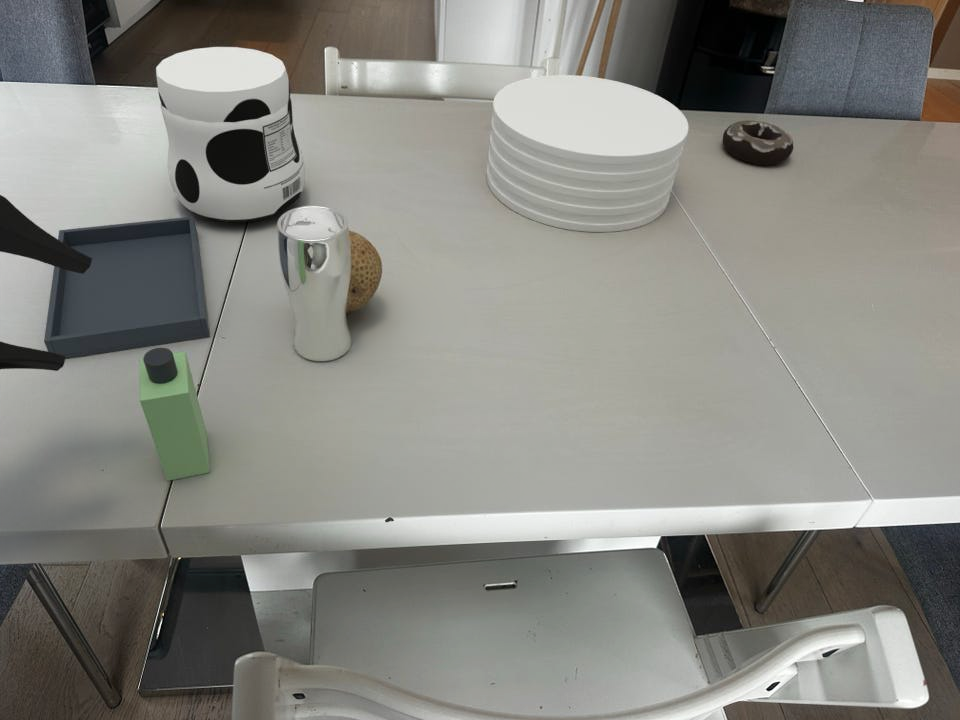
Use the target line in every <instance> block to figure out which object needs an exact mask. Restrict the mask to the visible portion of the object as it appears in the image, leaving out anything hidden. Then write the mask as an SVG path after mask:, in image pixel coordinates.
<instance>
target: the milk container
mask: <svg viewBox="0 0 960 720" xmlns="http://www.w3.org/2000/svg"><path fill="white" fill-rule="evenodd" d="M155 77H156V83H157V84H156V85H157V91H158V92H157V93H158V97H159V101H160V110H161V113H162V117H163V121H164V125H165V128H166V133H167V139H168V140H167V141H168V150H167V152H168V153H167V173H168V178H169V182H170V185H171V187H172V190H173V191H174V193H175V196H176V198H177V200H178V201H179V203H181V204H182V206H184V208H185V209H187V210H188V211H189V212H190V213H193V214H195V215H197V216H200V217H201V218H205V219H208V220H210V221H218V222H219V221H220V222H224V223H250V222H256V221H259V220H264V219H268V218H269V219H270V218H272V217H274V216H276V215H278V214H281V213H283V212H286V210H288V209H289V208H291V207H292V206H293V205H294V204H295V203H296V202H297V201H299V198H300V197H301V195H302V193H303V190H304V184H305V177H306V175H305V174H306V167H305V161H304V156H303V153H302V150H301V147H300V145H299V142H298V139H297V137H296V135H295V129H294V119H293V118H294V117H293V104H292V103H293V102H292V99H291V85H290V81H289V75H288V72H287V68H286V66H285V64H284V62H283V61H282V60H281V59H280V58H278V57H276V56H274V55H273V54H271V53H269V52H264V51H261V50H258V49H253V48H245V47H238V46H210V47H202V48H192V49H188V50H184V51H180V52H177V53H173V55H170V56H168V57H166V58H164V59H162V60H161V61H160V62H159V63H158V65H157V66H156V67H155Z"/></svg>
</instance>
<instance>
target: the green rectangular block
mask: <svg viewBox="0 0 960 720" xmlns="http://www.w3.org/2000/svg"><path fill="white" fill-rule="evenodd" d="M139 401H140V405H141V408H142V411H143V414H144V417H145V420H146V422H147V426H148V428H149V432H150V435H151V438H152V440H153V443H154V446H155V450H156V452H157V455H158V457H159V461H160V464H161V466H162V470H163V472H164V476H165V479H166V482H169V481H170V482H171V481H175V480H179V479H185V478H189V477H194V476H199V475H204V474H208V473H211V463H210V453H209V446H208V445H209V444H208V434H207V428H206V424H205V421H204V420H205V419H204V416H203V413H202V409H201V405H200V401H199V398H198V393H197V389H196V385H195V382H194V378H193V374H192V371H191V366H190V363H189V358H188V356H187V351H186V350H183V351H175V352H173V351H172V350H171V349H169V348H166V347H155V348H153V349H150V350H148V351H146V353H145V354H144V356H143V357H139Z"/></svg>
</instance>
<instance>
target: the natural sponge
mask: <svg viewBox="0 0 960 720" xmlns="http://www.w3.org/2000/svg"><path fill="white" fill-rule="evenodd" d="M349 237H350V244H351V254H352V275H351V284H350V290H349V297H348V302H347V310H346V314H347V313H352V312H354V311H357V310H359V309H360V308H362V307H363V306H365V305H366V304H368V303H369V302H370V301H371V300H372V298H373V297H374V296H375V294H376V292H377V290H378V289H379V285H380V282H381V280H382V277H383V276H382V275H383V262H382V259H381V256H380V254H379V252H378V250H377V249H376V247H375V246H374V245H373V244H372V243H371V241H369V240H368V239H367V238H366V237H365V236H362V234H359V233H358V232H356V231H353V230H349Z"/></svg>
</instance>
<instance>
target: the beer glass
mask: <svg viewBox="0 0 960 720" xmlns="http://www.w3.org/2000/svg"><path fill="white" fill-rule="evenodd" d="M276 225H277V246H278V247H277V249H278V261H279V267H280V273H281V274H280V275H281V277H282V282H283V286H284V288H285V292H286V294H287V297H288V299H289V302H290V306H291V308H292V312H293V315H294V321H295V322H294V323H295V327H294V328H295V329H294V337H293V347H294V349H295V351H296V353H297V354H298V355H299V356H300V357H302V358H304V359H305V360H309V361H312V362H330V361H334V360H337V359H339V358H341V357H343V356H344V355H345V354H347V353H348V351H349V350H350V349H351V346H352V335H351V332H350V328H349V325H348V320H347V313H346V310H347V302H348V297H349V290H350V284H351V275H352V254H351V244H350V237H349V231H350V229H349V221H348V218H347V216H346V215H345V214H344V213H343V212H341V211H340V210H338V209H335V208H333V207H330V206H325V205H303V206H298V207H294V208H291V209H289V210H287V211H284V213H283V214H282V215H280V217H279V218H278V220H277V223H276Z"/></svg>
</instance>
